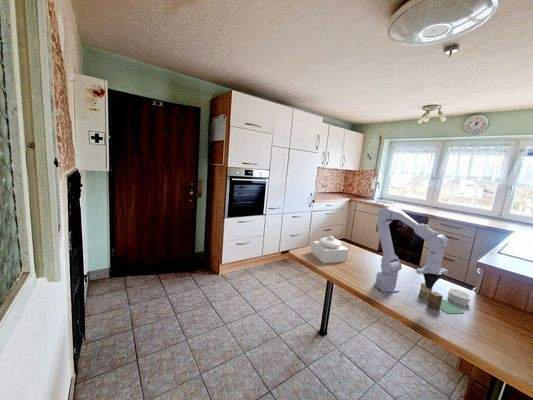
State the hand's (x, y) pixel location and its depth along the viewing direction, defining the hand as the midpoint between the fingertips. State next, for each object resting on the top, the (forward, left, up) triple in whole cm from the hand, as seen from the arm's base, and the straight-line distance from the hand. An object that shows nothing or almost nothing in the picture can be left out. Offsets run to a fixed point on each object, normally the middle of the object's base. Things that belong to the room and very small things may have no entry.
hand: (428, 287), depth 108 cm
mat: (+12, 0, -10) cm, 16 cm away
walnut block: (+5, 0, -10) cm, 12 cm away
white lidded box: (-24, +56, -11) cm, 62 cm away
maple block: (+8, +9, -10) cm, 16 cm away
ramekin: (+23, +4, -11) cm, 26 cm away
